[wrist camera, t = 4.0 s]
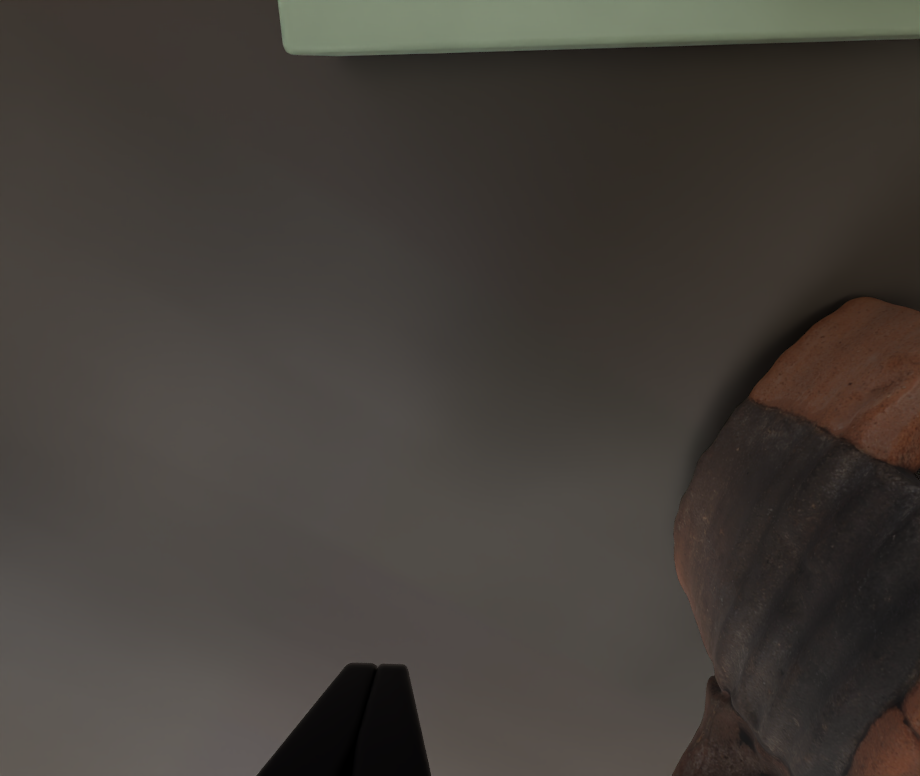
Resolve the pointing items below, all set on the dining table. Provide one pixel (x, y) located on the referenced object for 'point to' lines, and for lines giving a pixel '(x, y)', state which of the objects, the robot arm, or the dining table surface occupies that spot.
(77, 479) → the dining table surface
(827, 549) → the pottery mug
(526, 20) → the box
